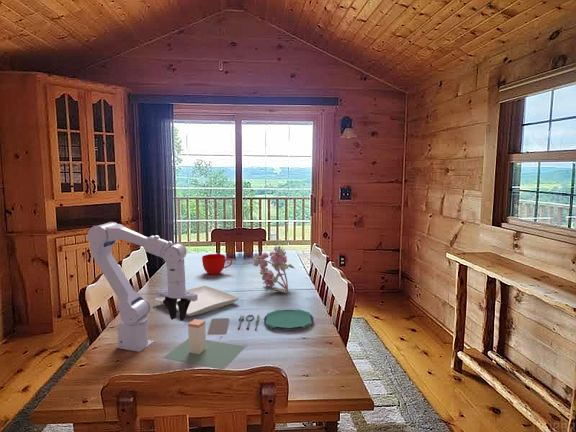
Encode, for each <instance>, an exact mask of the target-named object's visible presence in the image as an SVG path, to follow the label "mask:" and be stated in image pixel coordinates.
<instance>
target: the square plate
mask: <svg viewBox="0 0 576 432" xmlns="http://www.w3.org/2000/svg"><path fill="white" fill-rule="evenodd" d="M186 291H187V292H190V293H193V294H197V298H198V300H196V301H192V300H191V302H190V304H189V306H188V309H187V313H186V317H194V316H197V315H201V314H204V313H208V312H211V311H214V310H217V309H219V308H223V307H225V306H227V305H231V304H233V303H236V302H237V301H239V299H240V297H239V296H237V295H234V294H232V293H229V292H226V291H224V290H221V289H217V288H215V287H211V286H208V285H201V286H197V287H191V288H189V289H186ZM154 300H155V301H157V302H158V303H160V304H161V305H163V306H165V305H164V303H163V300H165V297H155V298H154ZM180 300H181V299H177V302H178V301H180ZM176 312H179V308H178V305H176Z"/></svg>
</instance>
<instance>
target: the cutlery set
mask: <svg viewBox="0 0 576 432" xmlns="http://www.w3.org/2000/svg"><path fill="white" fill-rule="evenodd" d="M250 317H251V318H252V319H248V318H250ZM245 320H247V321H248V322H247V326H246V331H247V330H249V329H250V324H251V323H250V322H251V321H253V320H255V316H254V315H253V314H248V315H246V317H245V315H240V316H239V318H238V321H239V323H238V326H237V330H240V329H241V326H242V322H243V321H245ZM259 321H260V315H259V314H257V317H256V320H255V328H254V331H258V330H257V329H258V325H259ZM263 321H264V322H263V323H265V325H266V328H267V329H268V330H269V331H272V329H280V330H290V331H291V330H299V329H303V328H304V329H307V328H308V327H311V326H312V323H314V316H313V315H312V314H311V313H310V312H309V311H306V310H303V309H276V310H273V311H271V312H268V313H266V315H265V316H264V317H263Z"/></svg>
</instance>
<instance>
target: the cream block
mask: <svg viewBox="0 0 576 432" xmlns="http://www.w3.org/2000/svg"><path fill="white" fill-rule="evenodd" d="M187 327H188V330H187V331H188V339H189V352H190V353H196V354H200V353H202V352H203V351H204V350H205V349H206V340H207V338H206V335H207V333H206V320H204V319H196V318H193V320H192V321H190V322H188V325H187Z"/></svg>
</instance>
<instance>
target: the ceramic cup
mask: <svg viewBox="0 0 576 432" xmlns="http://www.w3.org/2000/svg"><path fill="white" fill-rule="evenodd" d="M228 260H229V261H230V263H229V264H228V265H226V261H228ZM201 261H202V266H203V269H204V271H205V272H206V273H207V274H208V275H209V274H211V275H210V276H216V275H215V274H218V275H220V274H221V273H222V272H223V269H226V268H229V267H230V266H231V265H232V264H233V260H232V258H229V257H228V258H226V255H225V254H220V253H210V254H209V253H208V254H204V255H202V257H201ZM225 265H226V266H225ZM219 273H220V274H219Z"/></svg>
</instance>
